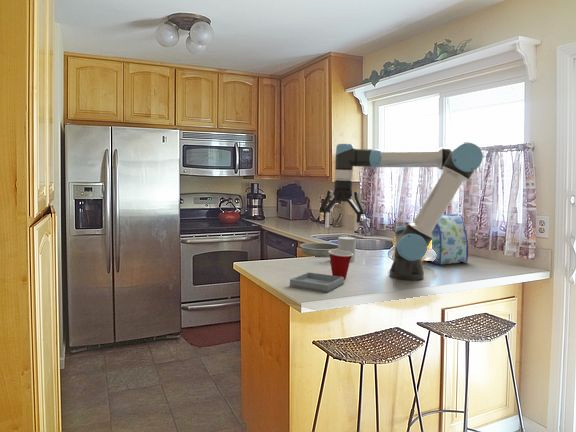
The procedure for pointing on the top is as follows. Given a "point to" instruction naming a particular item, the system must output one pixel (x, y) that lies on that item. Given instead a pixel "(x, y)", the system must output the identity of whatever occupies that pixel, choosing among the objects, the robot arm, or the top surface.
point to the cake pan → (318, 249)
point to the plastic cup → (340, 262)
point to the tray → (317, 282)
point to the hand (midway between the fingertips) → (341, 228)
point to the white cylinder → (347, 245)
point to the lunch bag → (450, 240)
